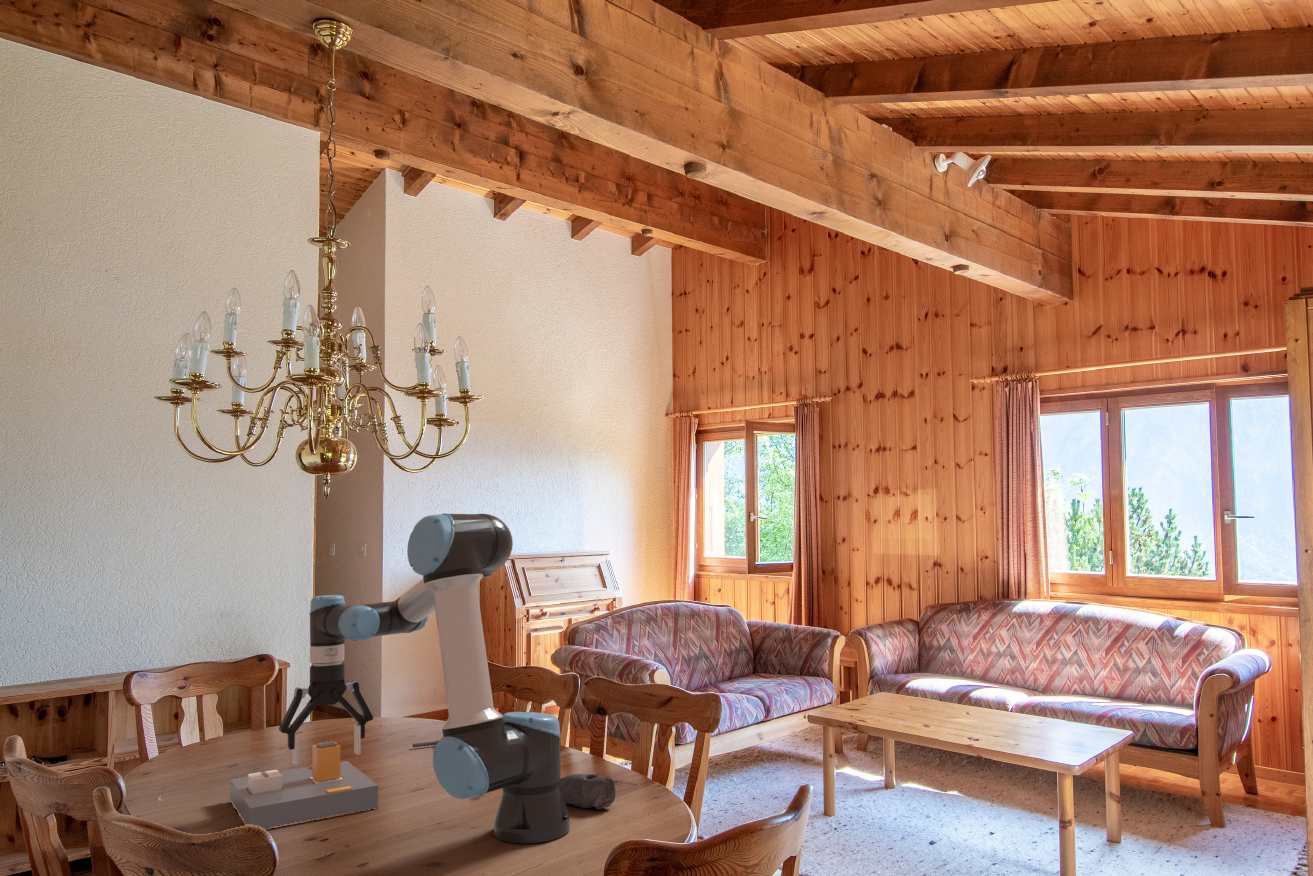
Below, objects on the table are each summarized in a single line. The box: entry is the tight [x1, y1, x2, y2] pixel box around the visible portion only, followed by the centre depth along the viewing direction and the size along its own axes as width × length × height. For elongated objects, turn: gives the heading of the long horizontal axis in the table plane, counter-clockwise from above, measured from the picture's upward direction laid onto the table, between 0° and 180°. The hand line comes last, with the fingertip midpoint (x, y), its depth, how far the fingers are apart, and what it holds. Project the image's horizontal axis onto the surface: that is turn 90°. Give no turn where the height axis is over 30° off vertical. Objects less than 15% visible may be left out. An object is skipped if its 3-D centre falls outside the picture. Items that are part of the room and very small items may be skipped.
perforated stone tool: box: [561, 773, 616, 810], centre depth 198 cm, size 15×5×7 cm, turn 56°
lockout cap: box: [311, 740, 341, 782], centre depth 206 cm, size 5×5×7 cm
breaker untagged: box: [247, 769, 282, 795], centre depth 199 cm, size 6×6×5 cm
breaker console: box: [229, 760, 379, 831], centre depth 203 cm, size 26×26×6 cm
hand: (326, 758), depth 206 cm, fingers open, 13 cm apart
